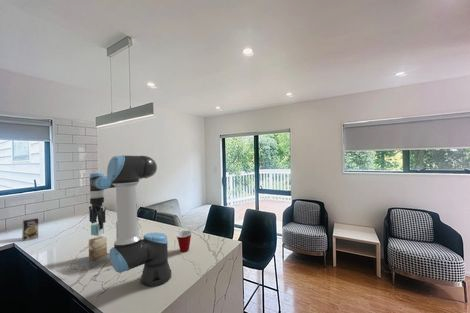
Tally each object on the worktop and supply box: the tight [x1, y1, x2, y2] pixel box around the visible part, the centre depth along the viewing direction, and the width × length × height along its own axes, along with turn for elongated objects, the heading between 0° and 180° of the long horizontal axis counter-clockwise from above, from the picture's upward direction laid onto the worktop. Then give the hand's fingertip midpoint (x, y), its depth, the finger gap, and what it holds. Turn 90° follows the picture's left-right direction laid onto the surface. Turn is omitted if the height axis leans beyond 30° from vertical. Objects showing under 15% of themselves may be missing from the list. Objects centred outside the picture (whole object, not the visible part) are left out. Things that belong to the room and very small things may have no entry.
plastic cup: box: [175, 230, 193, 253], centre depth 146 cm, size 11×11×12 cm
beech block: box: [88, 235, 108, 251], centre depth 135 cm, size 7×7×6 cm
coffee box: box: [21, 218, 39, 242], centre depth 179 cm, size 9×6×16 cm
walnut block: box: [88, 246, 108, 261], centre depth 135 cm, size 7×7×6 cm
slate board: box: [72, 252, 111, 270], centre depth 133 cm, size 18×18×2 cm
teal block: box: [90, 222, 105, 237], centre depth 136 cm, size 5×5×6 cm
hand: (97, 233), depth 136 cm, fingers closed on teal block, 5 cm apart
